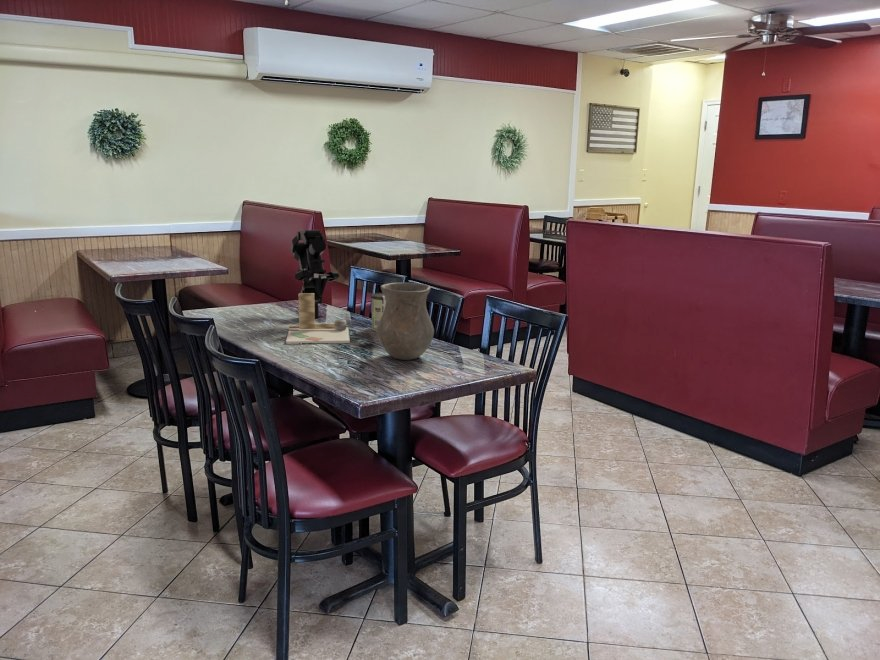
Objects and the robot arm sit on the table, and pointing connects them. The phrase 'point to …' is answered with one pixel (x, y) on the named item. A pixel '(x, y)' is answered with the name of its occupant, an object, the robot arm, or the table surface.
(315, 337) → the dial board
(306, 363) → the table surface
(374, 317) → the coffee can
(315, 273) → the robot arm
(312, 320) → the lever
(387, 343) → the vase
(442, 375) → the table surface
